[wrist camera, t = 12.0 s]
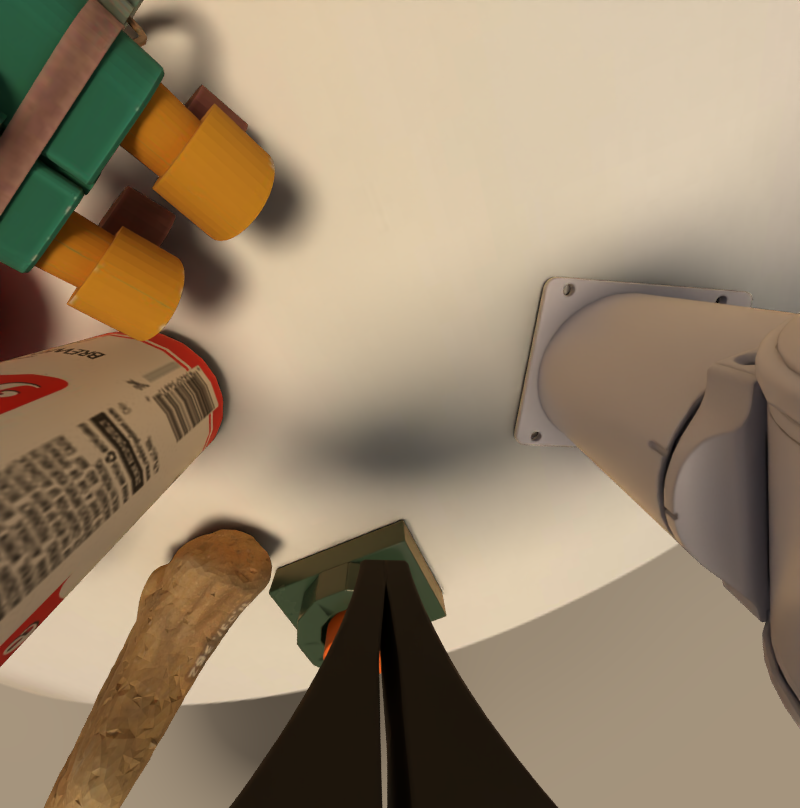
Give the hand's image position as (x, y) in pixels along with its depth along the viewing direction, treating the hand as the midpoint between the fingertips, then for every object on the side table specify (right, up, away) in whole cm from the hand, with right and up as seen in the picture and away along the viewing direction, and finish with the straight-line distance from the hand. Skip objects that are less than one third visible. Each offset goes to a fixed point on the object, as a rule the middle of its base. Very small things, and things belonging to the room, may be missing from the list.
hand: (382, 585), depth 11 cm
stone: (-10, -4, +10) cm, 15 cm away
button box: (-2, -5, +11) cm, 12 cm away
